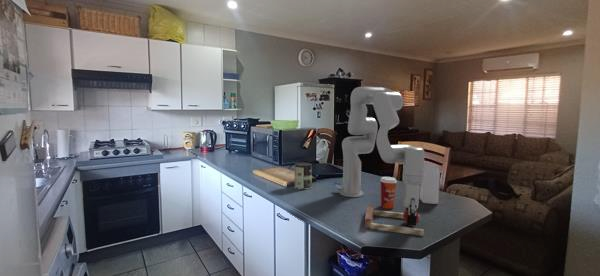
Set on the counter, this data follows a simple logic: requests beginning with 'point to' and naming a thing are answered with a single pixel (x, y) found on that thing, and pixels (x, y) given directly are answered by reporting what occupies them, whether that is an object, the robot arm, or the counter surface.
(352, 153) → the robot arm
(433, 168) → the milk carton
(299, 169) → the coffee can
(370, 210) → the wooden u-shaped frame
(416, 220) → the red apple
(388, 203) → the paper cup
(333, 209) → the counter surface
